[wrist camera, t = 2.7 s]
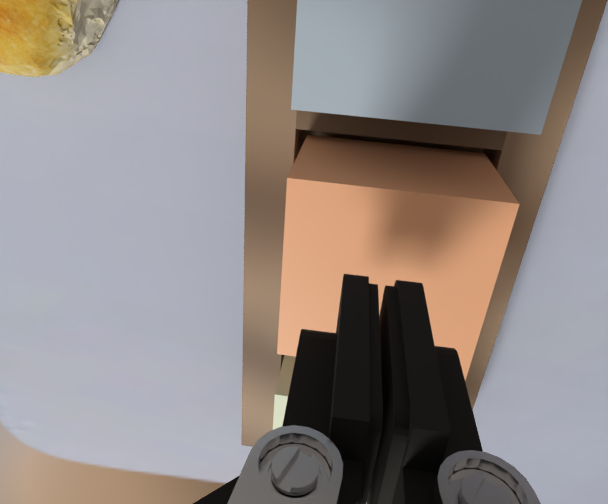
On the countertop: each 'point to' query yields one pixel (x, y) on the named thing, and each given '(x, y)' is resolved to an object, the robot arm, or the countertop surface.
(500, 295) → the wooden tray
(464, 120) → the slate button
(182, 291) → the countertop surface
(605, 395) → the countertop surface
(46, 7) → the bread roll
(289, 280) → the orange block
